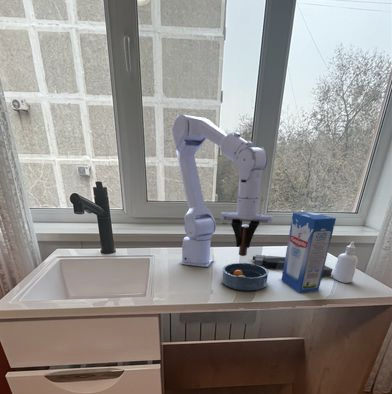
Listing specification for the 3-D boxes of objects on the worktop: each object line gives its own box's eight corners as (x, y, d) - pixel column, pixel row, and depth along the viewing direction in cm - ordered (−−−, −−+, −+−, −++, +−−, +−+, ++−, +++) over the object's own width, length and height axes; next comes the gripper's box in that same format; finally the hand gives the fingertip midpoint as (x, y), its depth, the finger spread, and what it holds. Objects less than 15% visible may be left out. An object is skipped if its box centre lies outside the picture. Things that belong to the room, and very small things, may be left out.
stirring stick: (237, 255, 88) (240, 226, 82) (240, 251, 89) (243, 223, 83) (244, 256, 87) (248, 228, 81) (247, 253, 88) (250, 225, 83)
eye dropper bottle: (344, 277, 92) (354, 239, 87) (353, 283, 88) (365, 244, 82) (330, 276, 92) (340, 239, 86) (339, 283, 87) (350, 244, 82)
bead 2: (239, 272, 81) (247, 273, 83) (233, 277, 83) (240, 278, 85) (242, 282, 80) (250, 282, 82) (236, 287, 82) (243, 287, 84)
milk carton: (281, 280, 89) (292, 212, 79) (298, 278, 90) (312, 212, 81) (299, 292, 81) (315, 219, 71) (318, 290, 82) (336, 218, 72)
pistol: (335, 272, 89) (325, 258, 102) (252, 265, 93) (253, 253, 106) (333, 279, 90) (324, 264, 103) (251, 272, 94) (252, 258, 107)
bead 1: (236, 282, 88) (230, 274, 88) (243, 276, 88) (237, 268, 88) (238, 281, 85) (231, 273, 85) (245, 274, 85) (239, 266, 85)
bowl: (217, 288, 82) (218, 274, 80) (226, 273, 93) (227, 261, 91) (264, 294, 79) (266, 280, 77) (267, 278, 90) (269, 265, 88)
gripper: (276, 197, 80) (268, 245, 87) (225, 194, 84) (222, 241, 91) (274, 200, 75) (266, 251, 81) (220, 197, 78) (217, 246, 85)
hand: (243, 246), depth 85 cm, fingers closed on stirring stick, 2 cm apart
